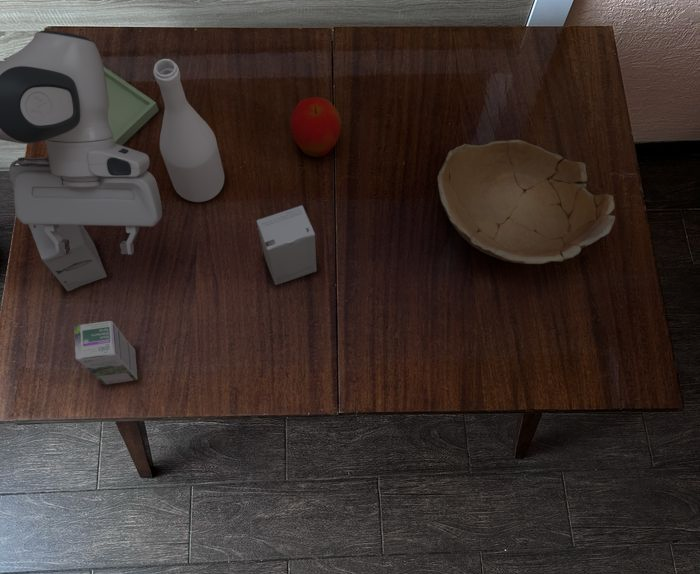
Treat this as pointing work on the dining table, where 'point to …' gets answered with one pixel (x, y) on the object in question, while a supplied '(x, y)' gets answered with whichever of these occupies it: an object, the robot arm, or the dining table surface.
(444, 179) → the ceramic bowl
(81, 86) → the robot arm
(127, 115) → the tray
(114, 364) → the syrup box
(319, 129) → the apple
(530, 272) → the dining table surface
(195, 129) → the wine bottle
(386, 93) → the dining table surface
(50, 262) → the white packaging box
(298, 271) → the cosmetic box
